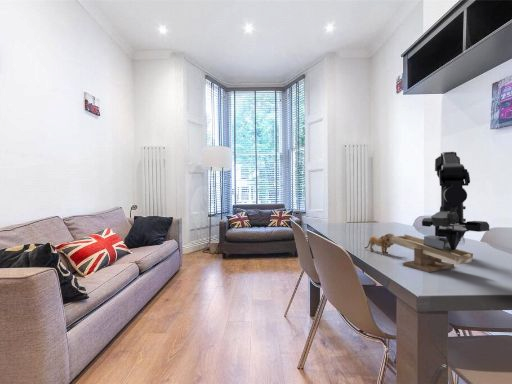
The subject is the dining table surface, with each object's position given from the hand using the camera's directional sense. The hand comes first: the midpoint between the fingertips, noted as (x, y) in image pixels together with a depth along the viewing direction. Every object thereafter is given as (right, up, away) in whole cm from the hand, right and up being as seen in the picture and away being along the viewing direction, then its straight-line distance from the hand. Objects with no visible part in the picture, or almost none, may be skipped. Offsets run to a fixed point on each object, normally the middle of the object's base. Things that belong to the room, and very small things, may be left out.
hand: (453, 249), depth 98 cm
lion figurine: (-11, -8, +31) cm, 34 cm away
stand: (-4, -8, +8) cm, 12 cm away
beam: (-4, -2, +8) cm, 9 cm away
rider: (-3, -1, +5) cm, 6 cm away
